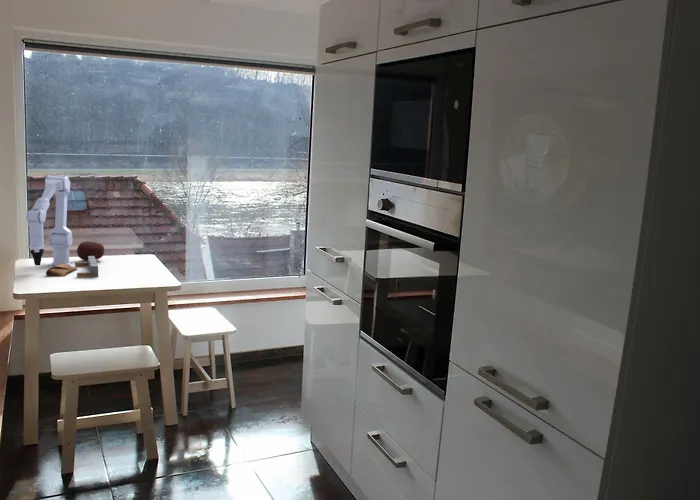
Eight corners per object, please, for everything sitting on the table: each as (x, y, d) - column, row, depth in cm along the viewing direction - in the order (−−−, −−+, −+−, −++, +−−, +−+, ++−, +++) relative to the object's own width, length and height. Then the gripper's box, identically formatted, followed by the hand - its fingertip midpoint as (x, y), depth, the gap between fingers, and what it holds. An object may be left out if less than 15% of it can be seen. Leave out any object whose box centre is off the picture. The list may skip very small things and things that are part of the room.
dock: (75, 266, 312) (74, 256, 312) (94, 265, 316) (94, 255, 315) (77, 277, 288) (76, 267, 288) (98, 276, 292) (98, 266, 291)
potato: (104, 262, 324) (104, 243, 323) (76, 263, 319) (76, 243, 318) (104, 258, 334) (104, 239, 333) (77, 259, 330) (76, 239, 328)
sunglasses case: (64, 276, 289) (56, 264, 288) (51, 284, 289) (43, 271, 288) (79, 269, 307) (71, 257, 305) (66, 275, 307) (58, 264, 306)
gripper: (27, 234, 295) (28, 262, 298) (26, 238, 282) (27, 268, 285) (44, 233, 298) (45, 262, 301) (43, 238, 285) (44, 267, 288)
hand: (37, 265), depth 293 cm, fingers closed
